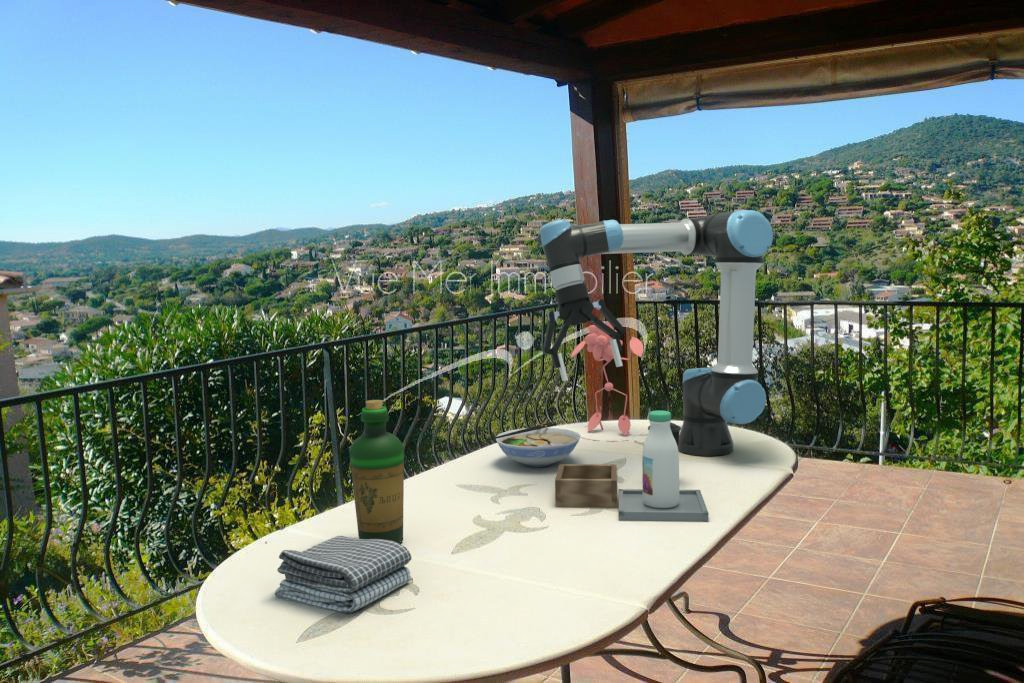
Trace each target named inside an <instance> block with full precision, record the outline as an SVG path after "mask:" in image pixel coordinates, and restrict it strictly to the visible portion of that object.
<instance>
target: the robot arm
mask: <svg viewBox="0 0 1024 683" xmlns="http://www.w3.org/2000/svg"><path fill="white" fill-rule="evenodd" d="M539 234H540V240H541V246H542V249H543V252H544V256H545V259H546V263H547V267H548V270H549V275H550V279H551V282H552V286H553V288H554V289H555V291H554V295H555V298H556V302H557V305H558V311H549V312H548V313H547V314H546V317H547V318H546V319H547V325H546V331H545V336H544V342H543V344H542V345H543V346H542V350H541V351H542V354H543V355H550V356H551V358H552V362H553V367H554V368H555V369H559V370H558V371H559V374H560V377H561V381H562V382H566V381H569V378H568V375H567V370H566V367H565V366H566V365H565V363H564V359H563V355H562V353H561V352H559V350H560V347H561V345H562V343H563V341H564V339H565V337H566V335H567V332H568V330H569V329H570V326H571V327H575V326H578V325H582V324H583V325H585V324H587V323H588V322H589V323H590V324H591V325H595V326H596V327H598V328H599V329H600V330H602V331H603V332H604V333H606V334H607V335H608V336H610V337H611V338H613V340H610V344H611V348H612V352H613V356H614V359H613V360H614V364H615V367H616V368H619V367H623V366H624V365H623V360H622V359H621V358H622V356H621V354H620V352H622V351H623V347H622V346H623V345H622V346H621V342H620V340H621V336H622V335H624V334H626V332H627V331H626V329H625V327H624V326H623V325H622V324H621V323H620V322H619V320H618V319H617V318H616V317H615V315H614V314H612V312H611V310H610V309H609V308H608V307H607V306H606V303H605V300H604V299H603V298H600V299H598V300H597V301H593V302H592V301H591V299H590V295H589V291H588V288H587V284H585V280H586V279H585V276H584V272H583V269H582V266H581V265H582V264H581V261H580V259H583V258H586V257H591V256H596V255H597V256H598V255H606V254H607V255H608V254H609V255H611V254H613V255H614V254H637V253H662V252H663V253H665V252H666V253H668V252H680V253H681V254H682V255H687V256H688V255H689V256H690V255H696V256H697V255H698V256H707V257H715V259H714V261H715V262H714V264H715V265H716V266H717V268H718V269H719V270H720V292H719V293H720V295H719V316H718V317H719V320H718V321H719V323H718V347H717V350H718V351H717V363H716V364H715V365H714V366H710V367H698V368H697V367H696V368H687V369H685V370H684V371H683V374H682V383H681V384H682V400H683V401H682V403H683V404H682V408H683V410H682V412H683V415H682V416H683V421H682V426H681V430H680V432H679V445H678V452H681V453H683V454H686V455H689V456H690V455H693V456H697V457H698V456H703V457H717V456H724V455H730V454H731V453H732V452H734V441H733V438H732V435H731V432H730V429H729V425H728V423H730V424H737V425H738V424H739V425H746V424H749V423H751V422H753V421H755V420H756V419H757V418H758V417H759V416H761V414H762V413H763V412H764V409H765V407H766V403H767V402H766V401H767V394H766V391H765V388H764V387H763V386H762V384H761V383H760V382H759V381H758V378H759V370H758V369H757V368H756V367H755V366H754V365H753V354H754V352H753V351H754V346H753V345H754V329H755V327H754V326H755V325H754V324H755V308H756V307H755V305H756V304H755V302H756V301H755V300H756V278H757V277H756V276H757V274H756V273H757V270H759V268H761V266H762V265H763V261H764V260H763V258H764V255H765V254H766V253H767V252H768V250H769V249H770V248H771V246H772V244H773V241H774V240H773V239H774V232H773V227H772V225H771V222H770V221H769V219H767V218H766V217H765V215H764V214H763V213H761V212H759V211H757V210H753V209H739V210H733V211H726V212H725V211H724V212H718V213H713V214H709V215H704V216H699V217H692V218H691V217H690V218H683V219H682V220H680V222H663V223H662V222H655V223H654V222H653V223H619V221H618V220H615V219H609V220H601V221H598V222H591V223H585V224H579V225H572V224H571V223H570V220H568V219H559V220H554V221H551V222H548V223H545V224H543V225H542V226H541V227H540V229H539ZM594 309H595V310H597V311H599V312H600V314H601V315H602V317H604V319H605V320H606V321H607V323H608V322H609V323H610V324H611V325H612V327H613V328H614V330H616V331H617V332H616V331H614V330H613V329H612V328H610V327H609V326H607V325H606V324H607V323H604V321H602V320H600V319H599V317H598V316H596V315H595V314H593V311H594ZM558 317H560V319H562V320H563V323H562V325H561V326H560V330H559V332H558V333H557V336H556V339H555V340H554V342H553V344H552V341H553V335H554V331H555V326H556V321H557V320H558ZM551 344H552V345H551ZM551 346H552V347H551ZM558 352H559V353H558Z"/></svg>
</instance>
